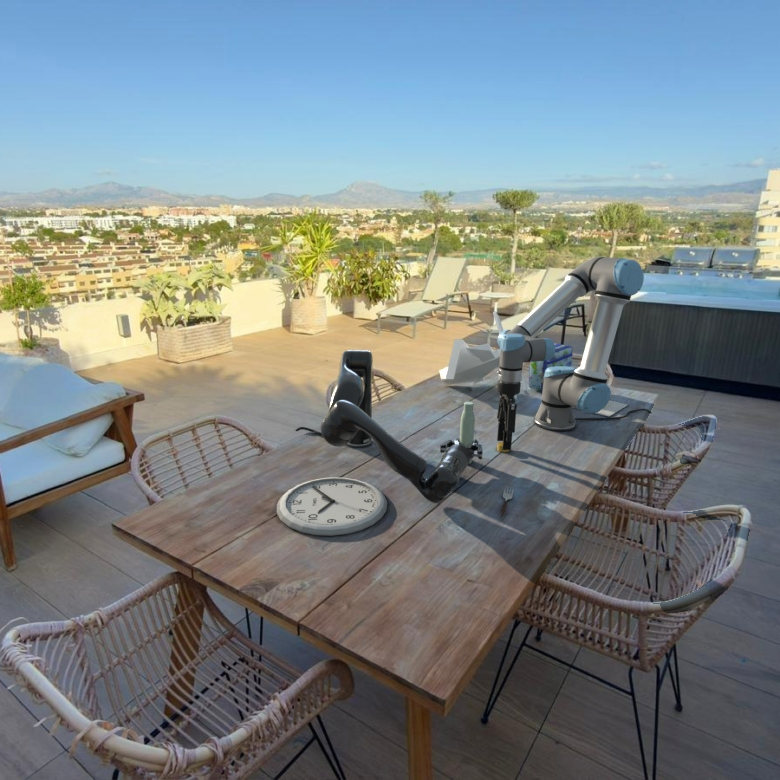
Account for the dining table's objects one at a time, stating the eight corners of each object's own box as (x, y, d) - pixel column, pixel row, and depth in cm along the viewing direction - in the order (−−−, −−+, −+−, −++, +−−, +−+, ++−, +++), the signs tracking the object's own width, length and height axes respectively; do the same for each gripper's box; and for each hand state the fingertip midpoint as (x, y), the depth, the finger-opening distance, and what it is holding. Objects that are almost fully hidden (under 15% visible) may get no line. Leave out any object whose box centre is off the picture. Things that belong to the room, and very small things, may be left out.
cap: (508, 453, 178) (508, 447, 177) (496, 451, 179) (496, 445, 179) (510, 448, 182) (510, 443, 181) (498, 446, 183) (498, 441, 182)
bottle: (460, 457, 174) (464, 400, 168) (473, 459, 172) (477, 402, 166) (456, 462, 170) (459, 403, 164) (469, 465, 169) (473, 406, 163)
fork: (495, 518, 138) (496, 511, 137) (504, 491, 152) (505, 484, 151) (505, 520, 137) (506, 513, 136) (513, 492, 151) (514, 486, 150)
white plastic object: (461, 429, 252) (437, 405, 227) (444, 352, 274) (420, 323, 250) (535, 404, 240) (518, 377, 215) (510, 326, 262) (492, 293, 237)
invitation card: (608, 416, 214) (573, 407, 224) (608, 416, 214) (573, 408, 224) (628, 404, 229) (594, 396, 238) (628, 405, 229) (594, 397, 238)
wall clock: (392, 527, 129) (268, 531, 127) (391, 533, 130) (269, 537, 127) (383, 473, 158) (282, 475, 155) (383, 478, 158) (282, 480, 156)
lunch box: (544, 395, 239) (549, 351, 233) (524, 390, 247) (528, 347, 240) (571, 384, 257) (577, 343, 251) (552, 380, 264) (556, 339, 258)
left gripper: (431, 468, 160) (446, 447, 176) (477, 476, 155) (489, 454, 171) (432, 445, 158) (447, 426, 173) (479, 453, 153) (490, 433, 168)
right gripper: (491, 372, 182) (486, 433, 189) (505, 389, 163) (499, 457, 170) (512, 372, 183) (507, 433, 190) (529, 389, 164) (522, 457, 171)
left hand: (468, 440), depth 172 cm, fingers closed on bottle, 4 cm apart
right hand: (503, 444), depth 180 cm, fingers open, 7 cm apart
